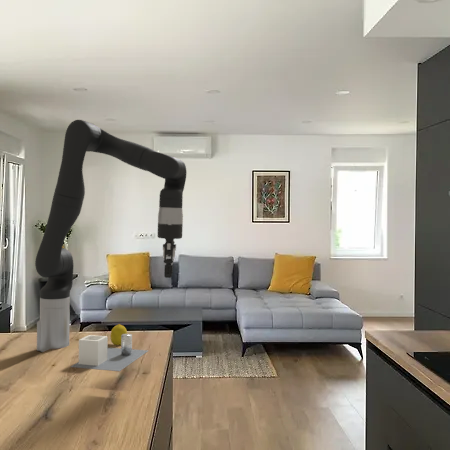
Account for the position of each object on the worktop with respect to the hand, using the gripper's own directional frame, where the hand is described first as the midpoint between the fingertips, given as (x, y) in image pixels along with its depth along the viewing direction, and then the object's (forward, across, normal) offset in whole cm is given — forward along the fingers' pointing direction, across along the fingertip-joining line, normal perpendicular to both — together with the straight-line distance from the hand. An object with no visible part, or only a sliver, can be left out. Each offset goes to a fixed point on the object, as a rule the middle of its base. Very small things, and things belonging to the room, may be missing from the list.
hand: (168, 275), depth 153 cm
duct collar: (+25, +6, -21) cm, 33 cm away
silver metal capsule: (+25, -2, -12) cm, 28 cm away
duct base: (+26, +2, -16) cm, 31 cm away
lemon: (+27, -16, -16) cm, 35 cm away
